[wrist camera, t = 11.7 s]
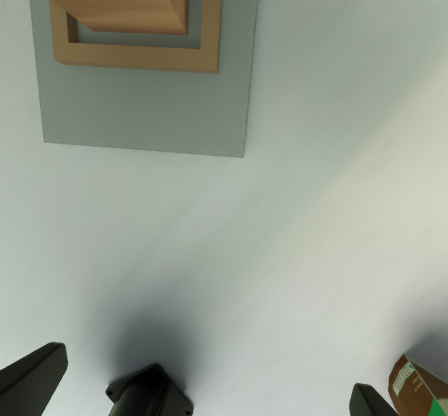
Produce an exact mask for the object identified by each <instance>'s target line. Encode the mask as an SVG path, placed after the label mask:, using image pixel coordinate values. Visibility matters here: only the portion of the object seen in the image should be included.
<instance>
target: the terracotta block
mask: <svg viewBox="0 0 448 416" xmlns="http://www.w3.org/2000/svg"><path fill="white" fill-rule="evenodd" d="M51 1H53V2H54V3H55V4H57V5H58V6H59V7H61V8H62V9H63V10H65V11H66V12H68V13H69V14H70V15H72V16H73V17H74V18H76V19H77V20H78V21H80V22H81V23H83V24H84V25H85V26H87V27H88V28H89V29H91V30H92V31H95V32H118V33H141V34H164V35H187V36H188V17H189V0H51Z"/></svg>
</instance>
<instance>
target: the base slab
mask: <svg viewBox="0 0 448 416" xmlns="http://www.w3.org/2000/svg"><path fill="white" fill-rule="evenodd" d="M30 7H31V17H32V27H33V37H34V47H35V57H36V67H37V77H38V87H39V97H40V107H41V117H42V127H43V137H44V142H46V143H59V144H72V145H85V146H98V147H111V148H124V149H136V150H149V151H162V152H175V153H188V154H201V155H213V156H226V157H239V158H243V156H244V145H245V134H246V122H247V111H248V100H249V89H250V77H251V66H252V55H253V44H254V33H255V21H256V10H257V0H189V17H188V36H187V35H164V34H141V33H118V32H95V31H92V30H91V29H89V28H88V27H87V26H85V25H84V24H83V23H81V22H80V21H78V20H77V19H76V18H74V17H73V16H72V15H70V14H69V13H68V12H66V11H65V10H63V9H62V8H61V7H59V6H58V5H57V4H55V3H54V2H53V1H51V0H30Z"/></svg>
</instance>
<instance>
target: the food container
mask: <svg viewBox="0 0 448 416" xmlns="http://www.w3.org/2000/svg"><path fill="white" fill-rule="evenodd" d="M388 392H389V394H390V397H391V400H392V402H393V405H394V407H395V409H396V411H397V413H398V414H399V415H400V416H448V382H447V381H445V380H444V379H442V378H441V377H439V376H438V375H436V374H434V373H433V372H431V371H430V370H428V369H427V368H425V367H423V366H422V365H420V364H419V363H417V362H415V361H414V360H412V359H411V358H409V357H408V356H406V355H403V356H402V357H401V358H400V359H399V360H398V361H397V363H396V364H395V366H394V368H393V370H392V372H391V374H390V376H389V387H388Z"/></svg>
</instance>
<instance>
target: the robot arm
mask: <svg viewBox="0 0 448 416" xmlns="http://www.w3.org/2000/svg"><path fill="white" fill-rule="evenodd" d="M67 366H68V359H67V353H66V346H65V345H64V344H63V343H58V342H50V343H48V344H46V345H44V346H43V347H41V348H39V349H37V350H36V351H34V352H32V353H30V354H28V355H27V356H25V357H23V358H21V359H20V360H18V361H16V362H14V363H12V364H11V365H9V366H7V367H5V368H4V369H2V370H0V416H41V415H42V413H43V412H44V410H45V408H46V406H47V404H48V403H49V401H50V399H51V397H52V395H53V394H54V392H55V390H56V388H57V386H58V385H59V383H60V381H61V379H62V377H63V375H64V374H65V372H66V370H67ZM154 369H155V370H154ZM106 395H107V396H108V397H109V398H110V399H111V401H112V402H113V403H114V406H113V408H112V410H111V412H110V414H109V416H192V415H193V410H194V408H193V407H192V405H191V404H190V403H189V402H188V400H187V399H186V398H185V397H184V395H183V394H182V393H181V392H180V390H179V389H178V388H177V387H176V385H175V384H174V383H173V382H172V380H171V379H170V378H169V377H168V375H167V374H166V373H165V372H164V370H163V369H162V368H161V367H160V365H158V364H152V365H150V366H148V367H146V368H144V369H142V370H140V371H138V372H136V373H134V374H132V375H130V376H128V377H126V378H124V379H122V380H120V381H118V382H116V383H114V384H112V385H110V386H108V388H107V390H106ZM349 410H350V416H400V415H399V414H398V413H397V412H396V411H395V410H394V409H393V408H392V407H391V406H390V405H389V404H388V403H387V402H386V401H385V399H384V398H383V397H382V396H381V395H380V394H379V393H378V392H377V391H376V390H375V389H374V388H373V387H372V386H371V385H368V384H361V383H356V384H355V385H354V388H353V391H352V395H351V399H350V403H349Z"/></svg>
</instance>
